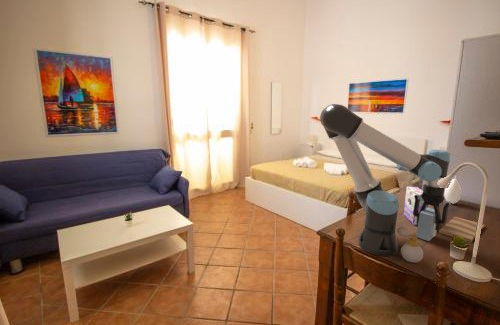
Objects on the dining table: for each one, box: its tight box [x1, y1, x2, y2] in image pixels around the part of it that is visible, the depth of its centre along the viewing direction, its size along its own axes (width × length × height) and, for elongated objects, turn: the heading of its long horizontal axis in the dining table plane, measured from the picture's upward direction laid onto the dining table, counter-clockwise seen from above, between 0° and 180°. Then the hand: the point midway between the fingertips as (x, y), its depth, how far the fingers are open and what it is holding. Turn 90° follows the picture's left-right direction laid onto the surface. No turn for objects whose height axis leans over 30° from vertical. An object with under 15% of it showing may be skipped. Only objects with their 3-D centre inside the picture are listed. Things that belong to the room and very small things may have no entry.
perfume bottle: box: [397, 226, 424, 264], centre depth 100 cm, size 8×10×12 cm
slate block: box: [415, 207, 436, 242], centre depth 117 cm, size 5×9×12 cm, turn 128°
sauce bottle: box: [443, 175, 462, 205], centre depth 156 cm, size 8×8×18 cm
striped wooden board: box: [438, 216, 485, 243], centre depth 125 cm, size 24×12×1 cm, turn 128°
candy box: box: [403, 186, 429, 226], centre depth 134 cm, size 14×6×16 cm, turn 168°
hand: (426, 233), depth 118 cm, fingers closed on slate block, 5 cm apart
